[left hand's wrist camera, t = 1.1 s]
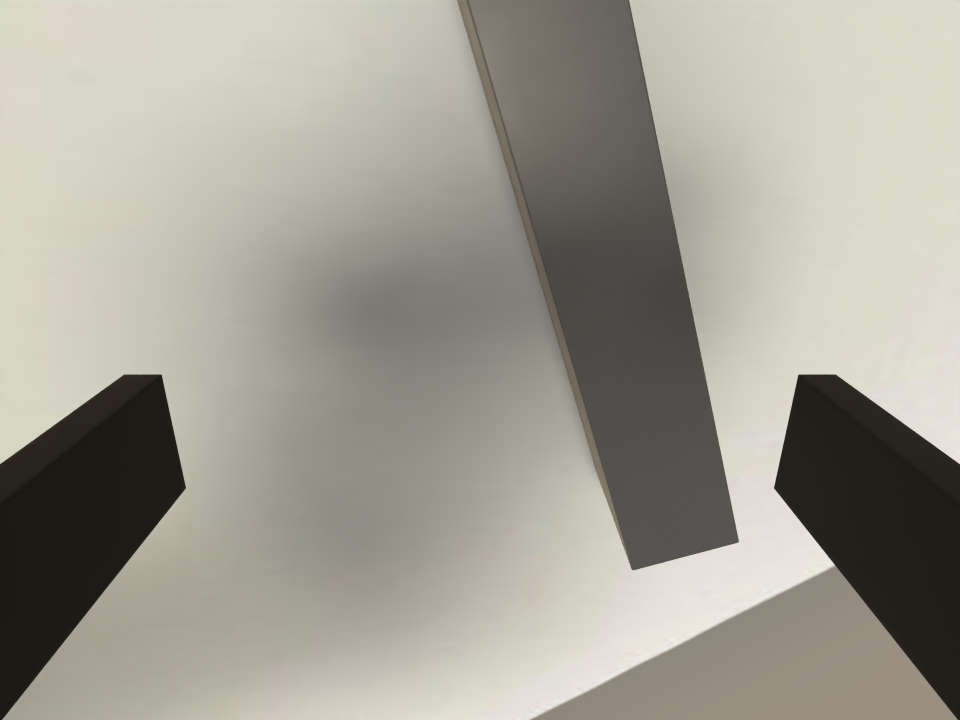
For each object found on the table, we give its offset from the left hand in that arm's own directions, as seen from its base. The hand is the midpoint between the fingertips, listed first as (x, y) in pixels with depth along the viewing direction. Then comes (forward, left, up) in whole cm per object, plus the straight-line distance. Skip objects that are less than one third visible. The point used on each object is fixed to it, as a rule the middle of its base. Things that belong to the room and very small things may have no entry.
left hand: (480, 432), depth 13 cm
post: (+13, +23, -19) cm, 33 cm away
